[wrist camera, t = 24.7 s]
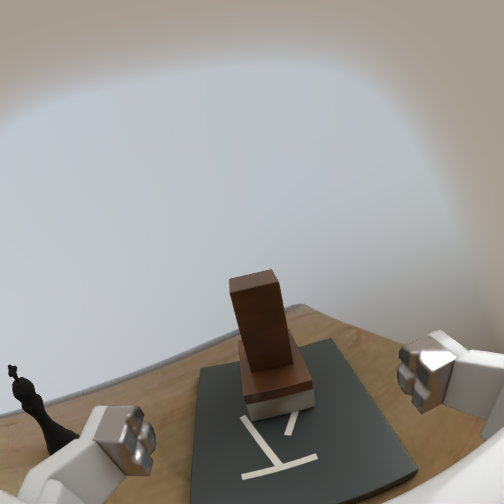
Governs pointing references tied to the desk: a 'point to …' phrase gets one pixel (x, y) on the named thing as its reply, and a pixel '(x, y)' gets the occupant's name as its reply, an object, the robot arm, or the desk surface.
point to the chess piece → (40, 413)
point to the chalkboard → (294, 441)
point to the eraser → (268, 349)
